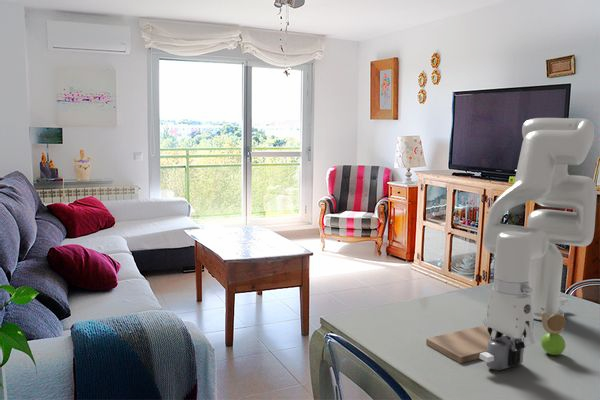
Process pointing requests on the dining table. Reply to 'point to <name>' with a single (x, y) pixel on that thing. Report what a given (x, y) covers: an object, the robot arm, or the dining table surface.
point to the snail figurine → (553, 333)
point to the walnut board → (462, 343)
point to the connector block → (499, 353)
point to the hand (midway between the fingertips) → (505, 360)
